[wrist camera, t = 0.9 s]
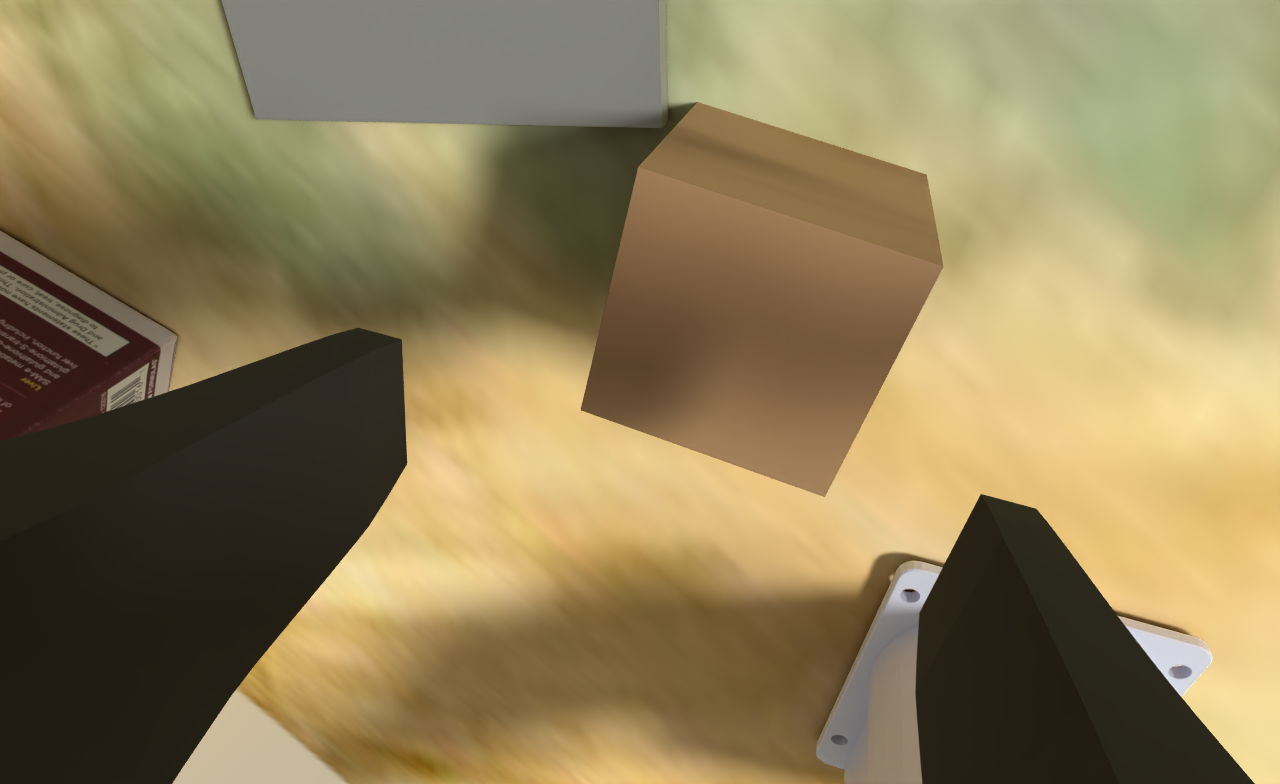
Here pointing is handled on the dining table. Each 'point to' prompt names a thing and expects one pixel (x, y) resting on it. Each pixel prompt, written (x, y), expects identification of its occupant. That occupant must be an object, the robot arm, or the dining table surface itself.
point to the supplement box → (70, 346)
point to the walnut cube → (761, 295)
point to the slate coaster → (455, 61)
